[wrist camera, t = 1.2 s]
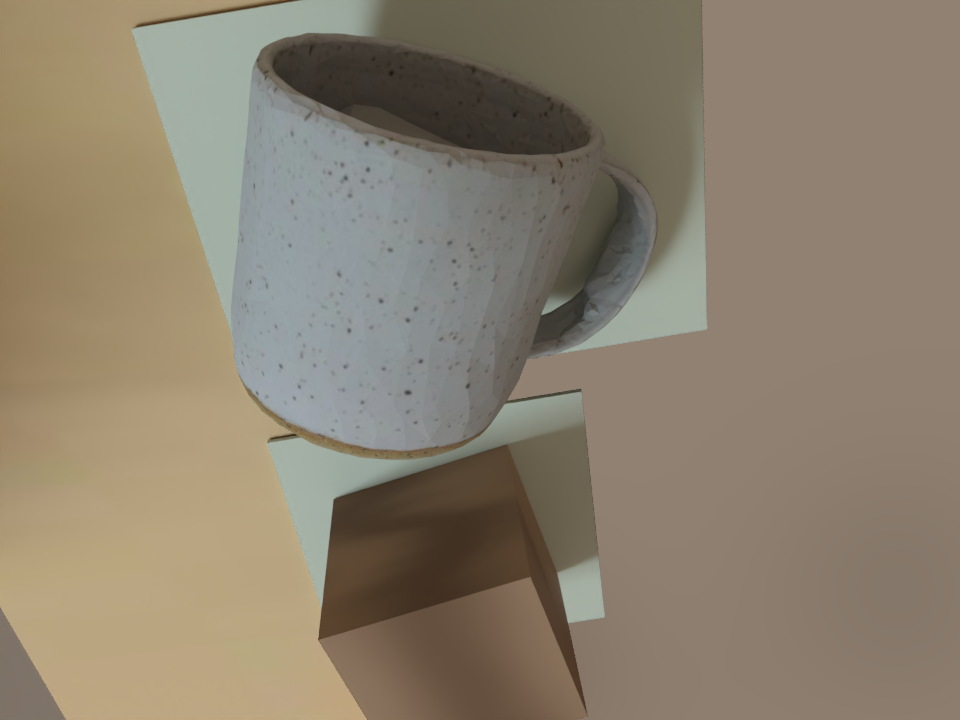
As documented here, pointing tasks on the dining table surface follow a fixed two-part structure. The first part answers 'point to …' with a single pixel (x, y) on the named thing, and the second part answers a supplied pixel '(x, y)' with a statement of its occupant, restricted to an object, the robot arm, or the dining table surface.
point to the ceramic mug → (412, 241)
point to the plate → (520, 425)
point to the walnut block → (448, 599)
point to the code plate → (508, 46)
